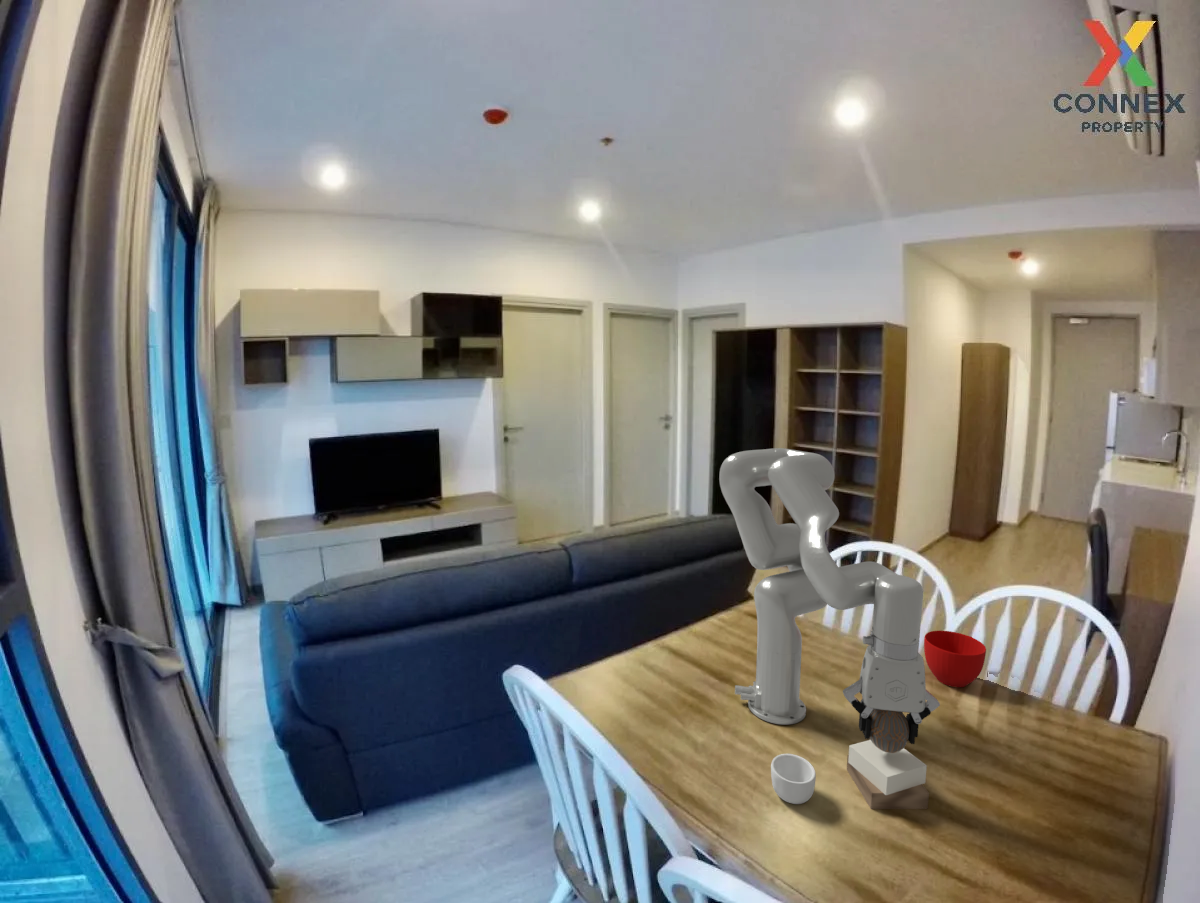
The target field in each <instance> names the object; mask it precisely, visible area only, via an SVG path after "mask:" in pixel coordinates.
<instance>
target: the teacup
mask: <svg viewBox="0 0 1200 903" xmlns="http://www.w3.org/2000/svg"><path fill="white" fill-rule="evenodd" d="M816 773H817V772H816V770H815V768H814V766H813V765H812V764H811V762H809V760H808V759H807V758H806V759H805V758H804V757H802V756H800V755H797V754H792V753H781V754H778V755H776V756H774V757H773V759H772V760H771V764H770V775H771V777H770V778H771V785H772V787H773V790H774V792H775V794H776V795H777V796H778V797H779V799H781V800H783V801H785V802H787V803H790V804H793V805H801V804H804V803H806V802H808V801H809V800H810V799H811V797H812V796H813V794H814V791H815V786H816V781H817V780H816V777H817V775H816Z"/></svg>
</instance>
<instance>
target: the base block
mask: <svg viewBox="0 0 1200 903" xmlns="http://www.w3.org/2000/svg"><path fill="white" fill-rule="evenodd" d="M848 758H849V754H847V758H846V761H847V762H846V771H847V773H848V774H849V776H850V777H851V779H852V781H853V782H854V784H855V786H856V787H857V790H859V793H860V794H861V795H862V797H863V799H864V800H865V802H866V804H867V805H868V807H869V808H870V810H905V809H906V810H908V809H909V810H915V809H916V810H920V809H921V810H922V809H923V810H924V809H925V810H927V809H928V808H929V798H930V793H929V791H928V790H927V789H926V787H925V786H924V785H923V784H921V785H918V786H914V787H911V788H908V789H905V790H902V791H899V792H895V793H892V794H889V795H885V794H884V793H883V792H882V791H880V790H879V789H878V788H877V787H876V786H875V785H874V784H872V783H871V782H870V781H869V780H868V779H867V778H866V777H864V776H863V775H862V774H861V773H860V772H859V771H858V770H856V769H855V768H854V767H853V766H852V765H851V764H849V763H848Z"/></svg>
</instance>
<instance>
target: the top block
mask: <svg viewBox="0 0 1200 903" xmlns="http://www.w3.org/2000/svg"><path fill="white" fill-rule="evenodd" d="M848 746H849V747H848V755H849V758H848V763H849V764H851V765H852V766H853V767H854V768H855V769H856V770H858V771H859V772H860V773H861V774H862V775H863V776H864V777H866V778H867V779H868V780H869V781H870V782H871V783H872V784H874V785H875V786H876V787H877V788H878V789H879V790H880V791H882V792H883V793H884V794H885V795H889V794H892V793H895V792H899V791H902V790H905V789H908V788H911V787H914V786H918V785H921V784H922V785H923V784H926V780H927V779H926V778H927V764H926V763H924V762H923V761H922V760H921V759H919V758H918V757H917V756H915V755H914V754H912V753H911V752H909V751H908V750H907V749H905V747H904V748H903V749H902V750H901V751H898V752H896V753H888V752H884V751H882V750H880V749H878V748H877V747H876V746H875V745H874V744H873V743H872V741H871V740H870V739H867V740H864V741H860V742H857V743H854V744H853V743H852V744H850V745H848Z"/></svg>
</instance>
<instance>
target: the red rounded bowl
mask: <svg viewBox="0 0 1200 903" xmlns="http://www.w3.org/2000/svg"><path fill="white" fill-rule="evenodd" d="M923 646H924V647H923V650H924V651H923V652H924V657H925V661H926V664H927V665H926V666H928V669H929V670H930V672H931V673H932V674H933V676H935V678H936V680H937V681H938V682H940V683H941V684H943V685H945V686H949V687H953V688H964V687H967V685H969V684H971V683H972V682H974V681H975V680H976V679H977V678H978V677H979V676H980V674H981V672H982V670H983V668H984V665H985V661H986V654H987V648H986V646H985V644H983V642H981V641H980V640H979V639H976V638H974V637H972V636H971V635H967V634H965V633H964V634H963V633H960V632H956V631H950V630H932V631H928V632H926V633H925V635H924V639H923Z"/></svg>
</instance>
